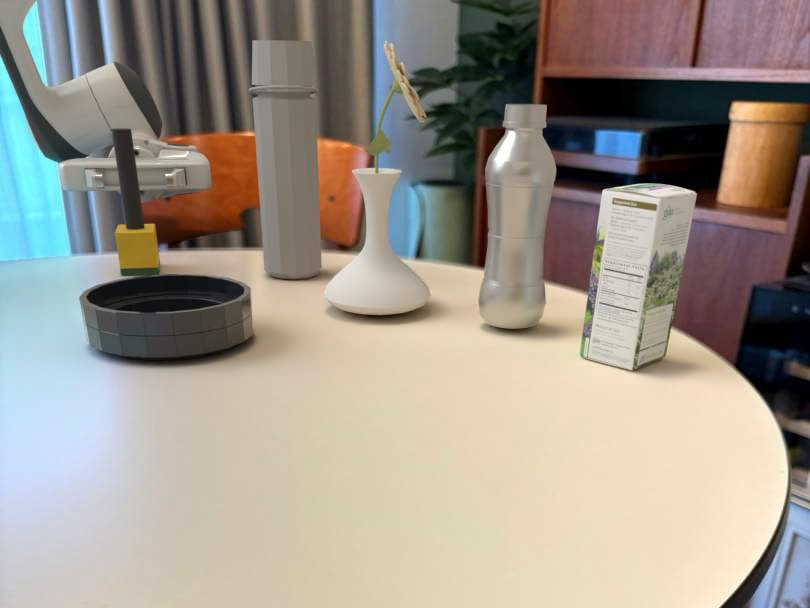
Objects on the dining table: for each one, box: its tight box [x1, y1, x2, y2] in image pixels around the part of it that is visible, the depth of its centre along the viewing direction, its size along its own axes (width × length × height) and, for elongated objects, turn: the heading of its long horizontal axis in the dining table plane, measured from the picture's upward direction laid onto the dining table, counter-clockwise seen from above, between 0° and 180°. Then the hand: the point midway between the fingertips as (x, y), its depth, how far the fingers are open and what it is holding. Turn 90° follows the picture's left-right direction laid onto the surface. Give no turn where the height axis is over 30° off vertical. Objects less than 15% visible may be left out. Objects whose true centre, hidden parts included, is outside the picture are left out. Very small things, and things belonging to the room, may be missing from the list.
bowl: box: [78, 273, 255, 361], centre depth 77 cm, size 15×15×4 cm
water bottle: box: [248, 39, 323, 280], centre depth 98 cm, size 9×8×25 cm
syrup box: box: [579, 183, 698, 371], centre depth 72 cm, size 6×6×14 cm
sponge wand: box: [112, 128, 161, 276], centre depth 100 cm, size 4×6×16 cm
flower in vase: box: [323, 39, 432, 316], centre depth 83 cm, size 13×11×25 cm
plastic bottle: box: [478, 103, 557, 330], centre depth 79 cm, size 6×7×20 cm
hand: (134, 181), depth 110 cm, fingers open, 8 cm apart
